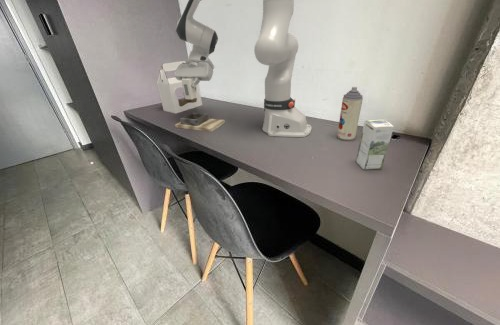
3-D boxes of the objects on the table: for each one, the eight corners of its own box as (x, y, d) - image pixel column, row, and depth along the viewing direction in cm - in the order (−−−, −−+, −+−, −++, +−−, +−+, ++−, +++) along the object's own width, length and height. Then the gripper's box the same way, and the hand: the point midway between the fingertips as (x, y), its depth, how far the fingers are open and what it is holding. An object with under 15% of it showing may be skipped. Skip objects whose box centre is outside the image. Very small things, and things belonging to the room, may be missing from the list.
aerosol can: (335, 134, 93) (342, 85, 84) (351, 134, 93) (361, 85, 83) (339, 141, 87) (347, 89, 78) (357, 140, 87) (367, 88, 77)
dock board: (225, 122, 115) (224, 114, 113) (211, 131, 105) (210, 122, 103) (191, 119, 123) (189, 111, 121) (175, 127, 113) (173, 118, 111)
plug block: (196, 97, 109) (193, 78, 105) (191, 99, 106) (187, 80, 101) (190, 97, 111) (186, 78, 106) (184, 99, 107) (180, 79, 103)
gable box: (190, 102, 157) (182, 60, 144) (202, 105, 150) (195, 60, 136) (163, 111, 143) (151, 64, 129) (175, 113, 135) (163, 64, 121)
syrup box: (372, 160, 73) (382, 118, 66) (382, 169, 68) (394, 125, 61) (355, 161, 73) (363, 119, 66) (363, 170, 68) (374, 126, 61)
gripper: (176, 58, 110) (167, 82, 107) (211, 57, 102) (202, 83, 99) (184, 67, 115) (175, 90, 112) (217, 66, 107) (209, 91, 105)
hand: (188, 87), depth 106 cm, fingers closed on plug block, 4 cm apart
